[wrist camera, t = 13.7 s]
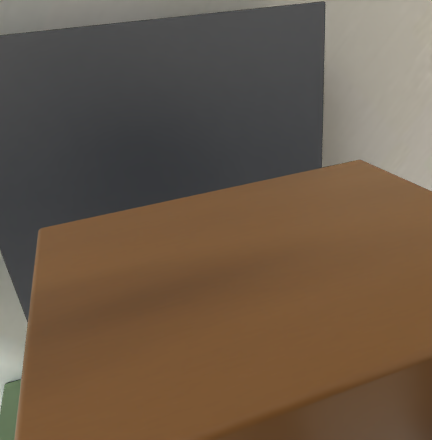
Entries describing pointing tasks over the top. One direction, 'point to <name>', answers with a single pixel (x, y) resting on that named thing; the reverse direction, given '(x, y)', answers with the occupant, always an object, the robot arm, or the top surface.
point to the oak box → (237, 315)
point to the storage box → (152, 115)
